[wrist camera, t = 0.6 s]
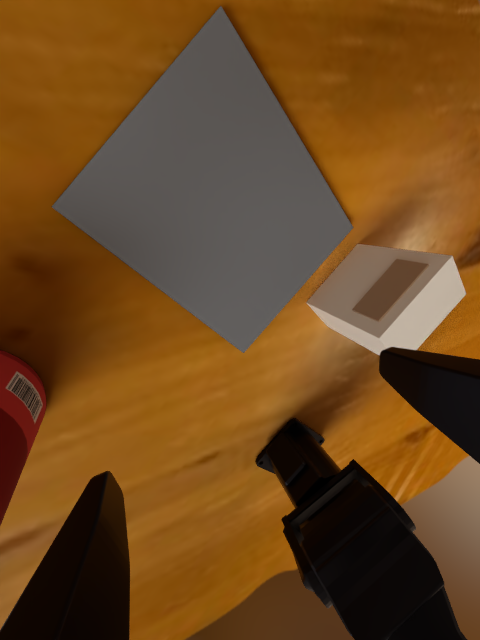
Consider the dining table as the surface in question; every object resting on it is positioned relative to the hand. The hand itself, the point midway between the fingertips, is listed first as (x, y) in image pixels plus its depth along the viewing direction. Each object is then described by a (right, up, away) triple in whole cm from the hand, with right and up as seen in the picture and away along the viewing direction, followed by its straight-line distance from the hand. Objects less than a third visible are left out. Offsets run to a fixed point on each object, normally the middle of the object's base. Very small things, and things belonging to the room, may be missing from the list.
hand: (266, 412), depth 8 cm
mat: (-1, +10, +11) cm, 15 cm away
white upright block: (+9, +6, +17) cm, 20 cm away
